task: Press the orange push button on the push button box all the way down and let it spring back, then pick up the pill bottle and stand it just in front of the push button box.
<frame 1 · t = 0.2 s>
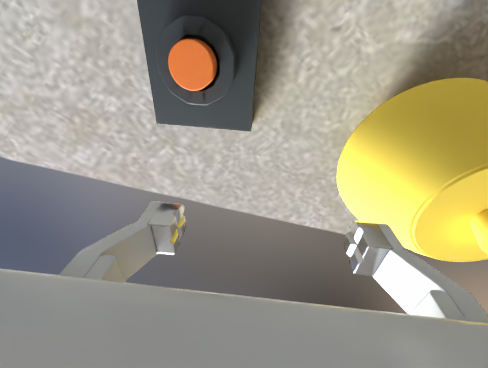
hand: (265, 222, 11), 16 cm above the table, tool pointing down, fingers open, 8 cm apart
orange push button: (193, 65, 18), point 4 cm above the table, slide at 0.1 cm
push button box: (206, 60, 22), on the table
teapot: (415, 155, 25), on the table
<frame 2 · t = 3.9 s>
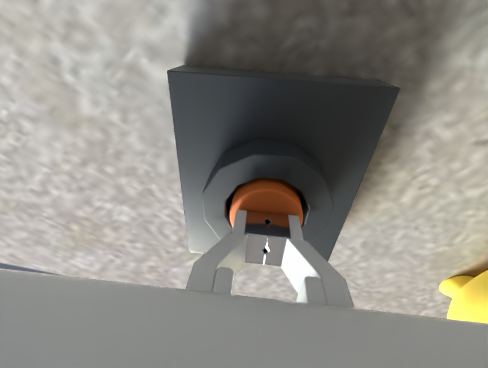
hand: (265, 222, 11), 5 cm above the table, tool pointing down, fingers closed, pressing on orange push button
orange push button: (265, 208, 12), point 4 cm above the table, slide at -0.7 cm, touching gripper
push button box: (265, 173, 15), on the table
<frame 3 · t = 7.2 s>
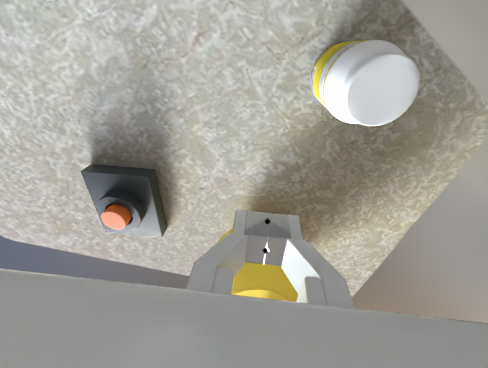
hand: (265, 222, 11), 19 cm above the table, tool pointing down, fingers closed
orange push button: (116, 216, 33), point 4 cm above the table, slide at 0.1 cm
push button box: (132, 199, 36), on the table
teapot: (272, 245, 40), on the table
pill bottle: (337, 74, 24), on the table
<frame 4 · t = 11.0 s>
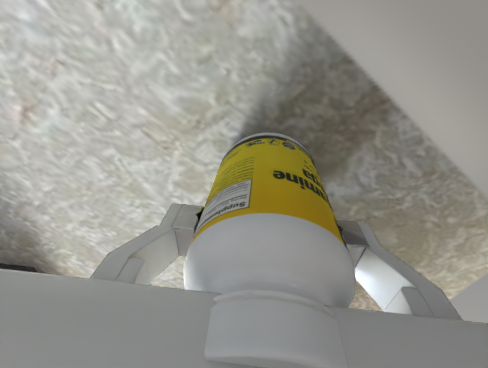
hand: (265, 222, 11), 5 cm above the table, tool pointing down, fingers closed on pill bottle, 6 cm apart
pill bottle: (266, 172, 15), on the table, touching gripper
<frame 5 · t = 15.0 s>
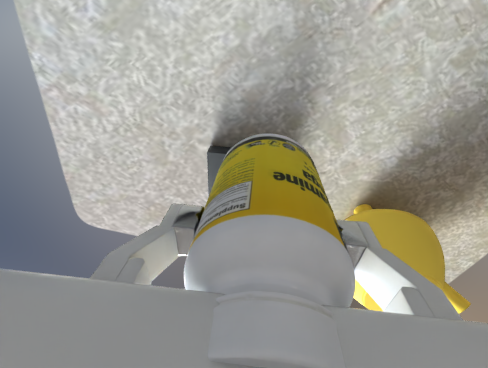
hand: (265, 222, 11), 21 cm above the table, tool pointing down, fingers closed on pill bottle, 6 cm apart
push button box: (242, 183, 35), on the table
teapot: (376, 234, 39), on the table
pill bottle: (266, 172, 15), point 16 cm above the table, touching gripper
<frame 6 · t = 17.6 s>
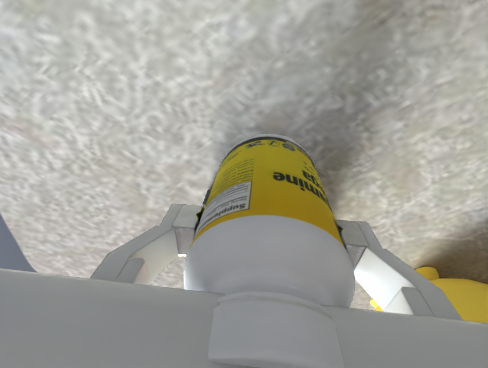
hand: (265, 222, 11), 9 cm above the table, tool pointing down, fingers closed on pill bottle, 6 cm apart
teapot: (436, 299, 28), on the table
pill bottle: (266, 173, 15), point 4 cm above the table, touching gripper
when the fingers open (5 cm above the table, at t = 19.3 s): pill bottle stays where it is, on the table.
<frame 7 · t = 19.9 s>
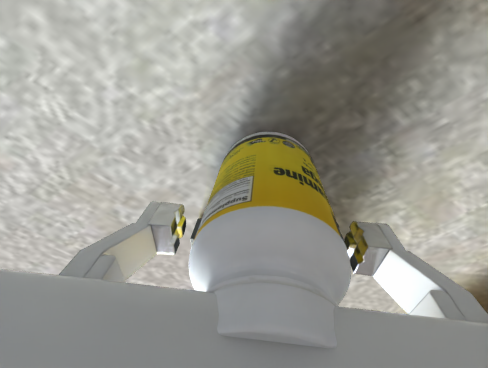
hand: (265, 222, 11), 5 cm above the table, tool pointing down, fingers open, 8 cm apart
pill bottle: (266, 170, 15), on the table
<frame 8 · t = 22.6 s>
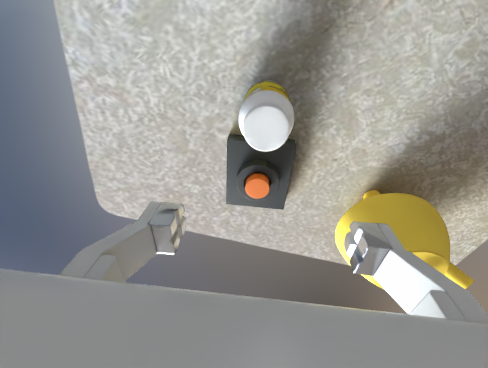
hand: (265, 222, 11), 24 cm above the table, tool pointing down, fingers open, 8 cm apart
orange push button: (257, 185, 33), point 4 cm above the table, slide at 0.1 cm
push button box: (258, 170, 37), on the table
teapot: (384, 219, 41), on the table
pill bottle: (266, 102, 31), on the table
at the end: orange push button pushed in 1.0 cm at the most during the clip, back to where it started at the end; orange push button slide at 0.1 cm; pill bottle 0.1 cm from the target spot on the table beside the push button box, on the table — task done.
